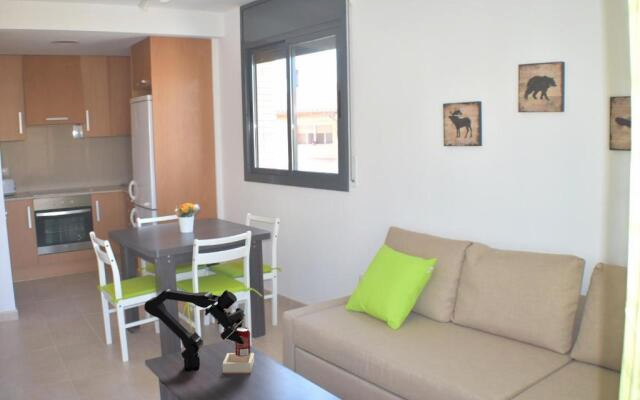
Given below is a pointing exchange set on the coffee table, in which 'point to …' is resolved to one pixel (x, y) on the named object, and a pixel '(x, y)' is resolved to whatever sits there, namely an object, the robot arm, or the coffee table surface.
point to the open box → (238, 363)
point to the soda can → (244, 349)
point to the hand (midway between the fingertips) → (245, 340)
